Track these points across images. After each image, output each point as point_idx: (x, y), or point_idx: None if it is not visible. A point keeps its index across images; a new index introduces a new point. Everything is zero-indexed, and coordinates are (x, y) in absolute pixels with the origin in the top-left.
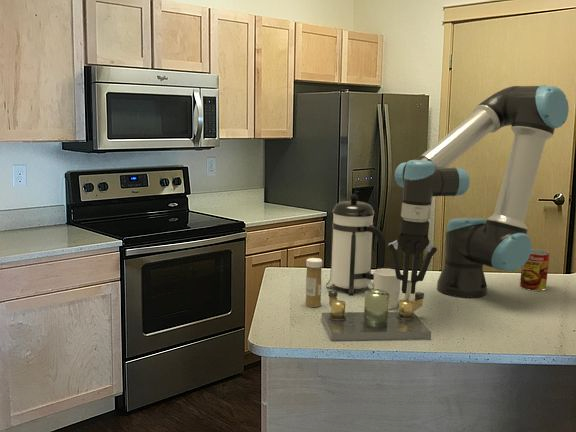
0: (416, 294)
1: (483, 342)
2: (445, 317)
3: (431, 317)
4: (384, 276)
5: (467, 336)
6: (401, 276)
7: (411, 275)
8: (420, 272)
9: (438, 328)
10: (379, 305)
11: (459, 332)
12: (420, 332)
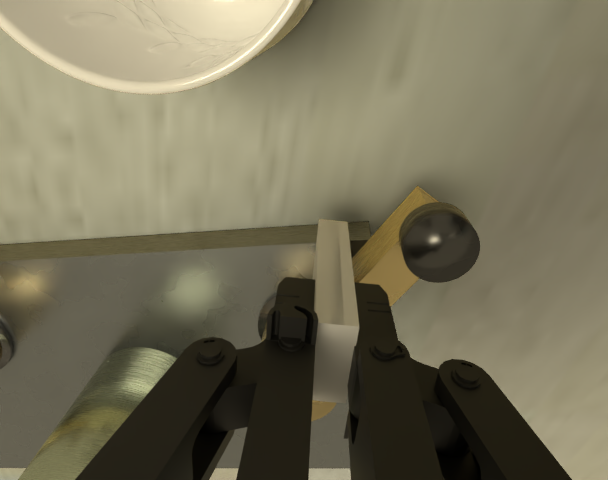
0: (407, 265)
1: (582, 465)
2: (581, 187)
3: (491, 191)
4: (88, 79)
5: (550, 418)
6: (238, 421)
7: (361, 388)
8: (476, 438)
9: (459, 340)
10: None
11: (538, 381)
12: (334, 465)
